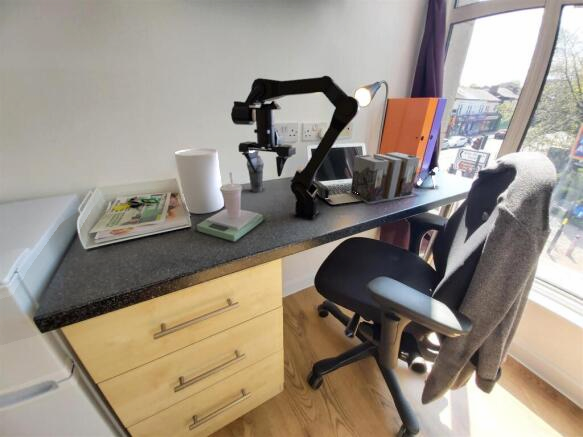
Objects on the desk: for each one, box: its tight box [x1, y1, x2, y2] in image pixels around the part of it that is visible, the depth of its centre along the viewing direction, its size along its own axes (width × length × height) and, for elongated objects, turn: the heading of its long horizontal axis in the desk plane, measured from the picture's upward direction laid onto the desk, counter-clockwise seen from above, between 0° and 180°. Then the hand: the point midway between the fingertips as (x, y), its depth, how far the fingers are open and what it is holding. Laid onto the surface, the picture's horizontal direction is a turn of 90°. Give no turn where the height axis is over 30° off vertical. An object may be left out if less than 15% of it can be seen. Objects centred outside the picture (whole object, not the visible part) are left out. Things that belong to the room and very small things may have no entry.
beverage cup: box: [246, 154, 265, 193], centre depth 101 cm, size 7×7×20 cm
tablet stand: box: [415, 167, 439, 190], centre depth 109 cm, size 9×8×8 cm
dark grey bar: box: [313, 180, 332, 202], centre depth 98 cm, size 5×3×15 cm
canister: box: [174, 147, 225, 215], centre depth 84 cm, size 14×14×20 cm
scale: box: [196, 208, 264, 243], centre depth 74 cm, size 14×15×3 cm
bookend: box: [345, 151, 421, 205], centre depth 98 cm, size 16×25×16 cm, turn 113°
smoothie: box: [220, 171, 243, 219], centre depth 71 cm, size 6×6×14 cm
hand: (267, 174), depth 80 cm, fingers open, 9 cm apart
